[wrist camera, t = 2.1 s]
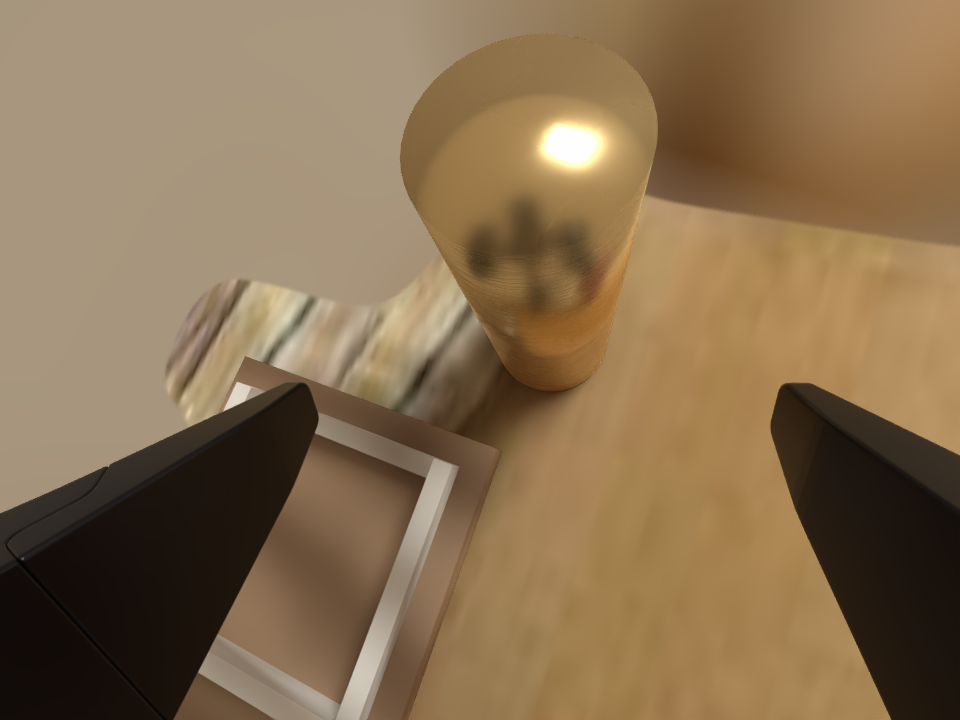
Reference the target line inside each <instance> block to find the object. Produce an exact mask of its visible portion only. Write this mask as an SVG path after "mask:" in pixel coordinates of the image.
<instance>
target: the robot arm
mask: <svg viewBox="0 0 960 720" xmlns="http://www.w3.org/2000/svg"><path fill="white" fill-rule="evenodd" d="M318 422H319V415H318V411H317V408H316V405H315V402H314V399H313V396H312V393H311V390H310V388H309V386H308V385H307V384H306V383H304V382H285V383H283V384H281V385H279V386H277V387H274V388H272V389H270V390H268V391H266V392H264V393H262V394H259V395H257V396H255V397H253V398H251V399H249V400H247V401H244V402H242V403H240V404H238V405H236V406H234V407H232V408H229V409H227V410H225V411H223V412H221V413H219V414H217V415H214V416H212V417H210V418H208V419H206V420H204V421H202V422H200V423H197V424H195V425H193V426H191V427H189V428H187V429H185V430H182V431H180V432H178V433H176V434H174V435H172V436H170V437H167V438H165V439H163V440H161V441H159V442H157V443H155V444H153V445H150V446H148V447H146V448H144V449H142V450H140V451H137V452H136V453H133V454H131V455H129V456H127V457H125V458H123V459H120V460H118V461H116V462H114V463H112V464H110V465H109V467H103V468H101V469H99V470H97V471H95V472H93V473H90V474H88V475H86V476H84V477H82V478H79V479H77V480H75V481H73V482H71V483H68V484H66V485H64V486H62V487H60V488H58V489H55V490H53V491H51V492H49V493H46V494H44V495H42V496H40V497H37V498H35V499H33V500H30V501H28V502H26V503H23V504H21V505H19V506H17V507H14V508H12V509H10V510H7V511H5V512H2V513H0V720H174V718H175V716H176V714H177V712H178V710H179V708H180V707H181V705H182V703H183V701H184V699H185V697H186V695H187V693H188V691H189V689H190V687H191V685H192V683H193V681H194V679H195V677H196V675H197V674H198V672H199V670H200V668H201V666H202V664H203V662H204V660H205V658H206V656H207V654H208V652H209V650H210V648H211V646H212V644H213V643H214V641H215V639H216V637H217V635H218V633H219V631H220V629H221V627H222V625H223V623H224V621H225V619H226V617H227V615H228V613H229V612H230V610H231V608H232V606H233V604H234V602H235V600H236V598H237V596H238V594H239V592H240V590H241V588H242V586H243V584H244V582H245V581H246V579H247V577H248V575H249V573H250V571H251V569H252V567H253V565H254V563H255V561H256V559H257V557H258V555H259V553H260V551H261V550H262V548H263V546H264V544H265V542H266V540H267V538H268V536H269V534H270V532H271V530H272V528H273V526H274V524H275V522H276V520H277V518H278V517H279V515H280V513H281V511H282V509H283V507H284V505H285V503H286V501H287V499H288V497H289V495H290V493H291V491H292V489H293V487H294V485H295V482H296V480H297V478H298V475H299V473H300V470H301V467H302V465H303V462H304V460H305V457H306V455H307V452H308V449H309V447H310V444H311V442H312V439H313V437H314V434H315V431H316V429H317V426H318ZM770 427H771V435H772V438H773V441H774V444H775V447H776V451H777V454H778V457H779V460H780V463H781V466H782V470H783V473H784V476H785V479H786V482H787V486H788V489H789V492H790V495H791V498H792V501H793V504H794V507H795V510H796V512H797V514H798V517H799V519H800V521H801V524H802V526H803V528H804V530H805V533H806V535H807V537H808V539H809V541H810V543H811V546H812V548H813V550H814V552H815V554H816V557H817V559H818V561H819V563H820V565H821V567H822V570H823V572H824V574H825V576H826V578H827V581H828V583H829V585H830V587H831V589H832V591H833V594H834V596H835V598H836V600H837V602H838V605H839V607H840V609H841V611H842V613H843V615H844V618H845V620H846V622H847V624H848V626H849V628H850V631H851V633H852V635H853V637H854V639H855V642H856V644H857V646H858V648H859V650H860V652H861V655H862V657H863V659H864V661H865V663H866V666H867V668H868V670H869V672H870V674H871V676H872V679H873V681H874V683H875V685H876V687H877V690H878V692H879V694H880V696H881V698H882V700H883V703H884V705H885V707H886V709H887V711H888V714H889V716H890V718H891V720H960V455H958V454H956V453H954V452H952V451H950V450H948V449H946V448H943V447H941V446H939V445H937V444H935V443H933V442H931V441H929V440H927V439H925V438H923V437H921V436H919V435H917V434H915V433H913V432H910V431H908V430H906V429H904V428H902V427H900V426H898V425H896V424H894V423H892V422H890V421H888V420H886V419H884V418H882V417H879V416H877V415H875V414H873V413H871V412H869V411H867V410H865V409H863V408H861V407H859V406H857V405H855V404H853V403H851V402H849V401H846V400H844V399H842V398H840V397H838V396H836V395H834V394H832V393H830V392H828V391H826V390H824V389H822V388H820V387H818V386H816V385H813V384H811V383H785V384H783V385H782V386H781V387H780V389H779V392H778V395H777V399H776V403H775V407H774V411H773V415H772V419H771V425H770Z"/></svg>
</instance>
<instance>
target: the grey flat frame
mask: <svg viewBox="0 0 960 720" xmlns="http://www.w3.org/2000/svg"><path fill="white" fill-rule="evenodd" d="M285 382H304V383H306V384H307V385H308V386H309V388H310V390H311V393H312V396H313V399H314V402H315V405H316V408H317V411H318V415H319V422H318V426H317V429H316V431H315V434H314V437H313V439H312V442H311V444H310V447H309V449H308V452H307V455H306V457H305V460H304V462H303V465H302V467H301V470H300V473H299V475H298V478H297V480H296V482H295V485H294V487H293V489H292V491H291V493H290V495H289V497H288V499H287V501H286V503H285V505H284V507H283V509H282V511H281V513H280V515H279V517H278V518H277V520H276V522H275V524H274V526H273V528H272V530H271V532H270V534H269V536H268V538H267V540H266V542H265V544H264V546H263V548H262V550H261V551H260V553H259V555H258V557H257V559H256V561H255V563H254V565H253V567H252V569H251V571H250V573H249V575H248V577H247V579H246V581H245V582H244V584H243V586H242V588H241V590H240V592H239V594H238V596H237V598H236V600H235V602H234V604H233V606H232V608H231V610H230V612H229V613H228V615H227V617H226V619H225V621H224V623H223V625H222V627H221V629H220V631H219V633H218V635H217V637H216V639H215V641H214V643H213V644H212V646H211V648H210V650H209V652H208V654H207V656H206V658H205V660H204V662H203V664H202V666H201V668H200V670H199V672H198V674H197V675H196V677H195V679H194V681H193V683H192V685H191V687H190V689H189V691H188V693H187V695H186V697H185V699H184V701H183V703H182V705H181V707H180V708H179V710H178V712H177V714H176V716H175V718H174V720H408V718H409V715H410V712H411V709H412V706H413V703H414V700H415V698H416V695H417V692H418V689H419V686H420V683H421V680H422V678H423V675H424V672H425V669H426V666H427V663H428V661H429V658H430V655H431V652H432V649H433V646H434V643H435V641H436V638H437V635H438V632H439V629H440V626H441V623H442V621H443V618H444V615H445V612H446V609H447V606H448V603H449V601H450V598H451V595H452V592H453V589H454V586H455V584H456V581H457V578H458V575H459V572H460V569H461V566H462V564H463V561H464V558H465V555H466V552H467V549H468V546H469V544H470V541H471V538H472V535H473V532H474V529H475V527H476V524H477V521H478V518H479V515H480V512H481V509H482V507H483V504H484V501H485V498H486V495H487V492H488V489H489V487H490V484H491V481H492V478H493V475H494V472H495V469H496V467H497V464H498V461H499V458H500V455H501V452H502V451H500V450H498V449H496V448H493V447H491V446H488V445H485V444H482V443H480V442H477V441H474V440H472V439H469V438H466V437H463V436H461V435H458V434H455V433H453V432H450V431H447V430H444V429H442V428H439V427H436V426H434V425H431V424H428V423H425V422H423V421H420V420H417V419H414V418H412V417H409V416H406V415H404V414H401V413H398V412H395V411H393V410H390V409H387V408H385V407H382V406H379V405H376V404H374V403H371V402H368V401H366V400H363V399H360V398H357V397H355V396H352V395H349V394H346V393H344V392H341V391H338V390H336V389H333V388H330V387H327V386H325V385H322V384H319V383H317V382H314V381H311V380H308V379H306V378H303V377H300V376H298V375H295V374H292V373H289V372H287V371H284V370H281V369H278V368H276V367H273V366H270V365H268V364H265V363H262V362H259V361H257V360H254V359H251V358H249V357H246V356H245V358H244V360H243V362H242V364H241V366H240V368H239V371H238V373H237V375H236V377H235V379H234V381H233V383H232V385H231V388H230V390H229V392H228V394H227V396H226V398H225V400H224V402H223V404H222V407H221V409H220V411H219V413H221V412H223V411H225V410H227V409H229V408H232V407H234V406H236V405H238V404H240V403H242V402H244V401H247V400H249V399H251V398H253V397H255V396H257V395H259V394H262V393H264V392H266V391H268V390H270V389H272V388H274V387H277V386H279V385H281V384H283V383H285ZM219 413H218V414H219Z"/></svg>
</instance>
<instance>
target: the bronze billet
mask: <svg viewBox="0 0 960 720" xmlns="http://www.w3.org/2000/svg"><path fill="white" fill-rule="evenodd" d="M657 134H658V124H657V113H656V110H655V106H654V102H653V99H652V97H651V95H650V92H649V90H648V88H647V86H646V84H645V83H644V81H643V80H642V78H641V77H640V75H639V74H638V73H637V72H636V71H635V70H634V69H633V68H632V67H631V66H630V64H629V63H627V62H626V61H625V60H624V59H622V58H621V57H620V56H619V55H617V54H616V53H614V52H612V51H610V50H609V49H607V48H605V47H603V46H601V45H599V44H596V43H594V42H591V41H588V40H585V39H581V38H578V37H572V36H566V35H558V34H534V35H525V36H519V37H513V38H509V39H506V40H502V41H498V42H495V43H493V44H490V45H487V46H485V47H482V48H480V49H478V50H476V51H474V52H472V53H470V54H469V55H467V56H465V57H464V58H462V59H460V60H459V61H457V62H456V63H454V64H453V65H452V66H450V67H449V68H448V69H447V70H446V71H444V72H443V73H442V74H441V75H440V76H439V77H438V78H437V79H436V80H434V81H433V83H432V84H431V85H430V86H429V87H428V88H427V90H426V91H425V92H424V93H423V95H422V96H421V98H420V99H419V101H418V102H417V104H416V105H415V107H414V109H413V111H412V113H411V115H410V117H409V119H408V122H407V125H406V127H405V130H404V134H403V139H402V143H401V154H400V162H401V173H402V177H403V181H404V185H405V188H406V190H407V193H408V195H409V198H410V200H411V201H412V203H413V205H414V206H415V208H416V210H417V212H418V214H419V215H420V217H421V219H422V221H423V223H424V224H425V226H426V228H427V230H428V231H429V233H430V235H431V237H432V239H433V240H434V242H435V244H436V246H437V247H438V249H439V251H440V253H441V255H442V256H443V258H444V260H445V262H446V263H447V265H448V267H449V269H450V271H451V272H452V274H453V276H454V278H455V279H456V281H457V283H458V285H459V287H460V288H461V290H462V292H463V294H464V295H465V297H466V299H467V301H468V302H469V304H470V306H471V308H472V310H473V311H474V313H475V315H476V317H477V318H478V320H479V322H480V324H481V326H482V327H483V329H484V331H485V333H486V334H487V336H488V338H489V340H490V341H491V343H492V345H493V347H494V349H495V350H496V352H497V354H498V356H499V357H500V359H501V361H502V363H503V364H504V366H505V368H506V369H507V370H508V372H509V373H510V374H511V375H512V376H513V377H514V378H515V379H516V380H518V381H519V382H520V383H522V384H524V385H526V386H528V387H530V388H533V389H536V390H541V391H561V390H566V389H570V388H572V387H575V386H577V385H579V384H580V383H582V382H584V381H585V380H586V379H588V378H589V377H590V376H591V375H592V374H593V373H594V372H595V371H596V369H597V368H598V367H599V365H600V363H601V362H602V360H603V357H604V355H605V352H606V348H607V344H608V340H609V336H610V332H611V328H612V324H613V319H614V315H615V311H616V307H617V303H618V299H619V295H620V291H621V287H622V283H623V279H624V275H625V271H626V267H627V263H628V259H629V255H630V251H631V247H632V243H633V239H634V235H635V231H636V227H637V223H638V219H639V215H640V211H641V206H642V202H643V198H644V194H645V190H646V186H647V182H648V178H649V174H650V170H651V166H652V162H653V158H654V154H655V149H656V145H657Z"/></svg>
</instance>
